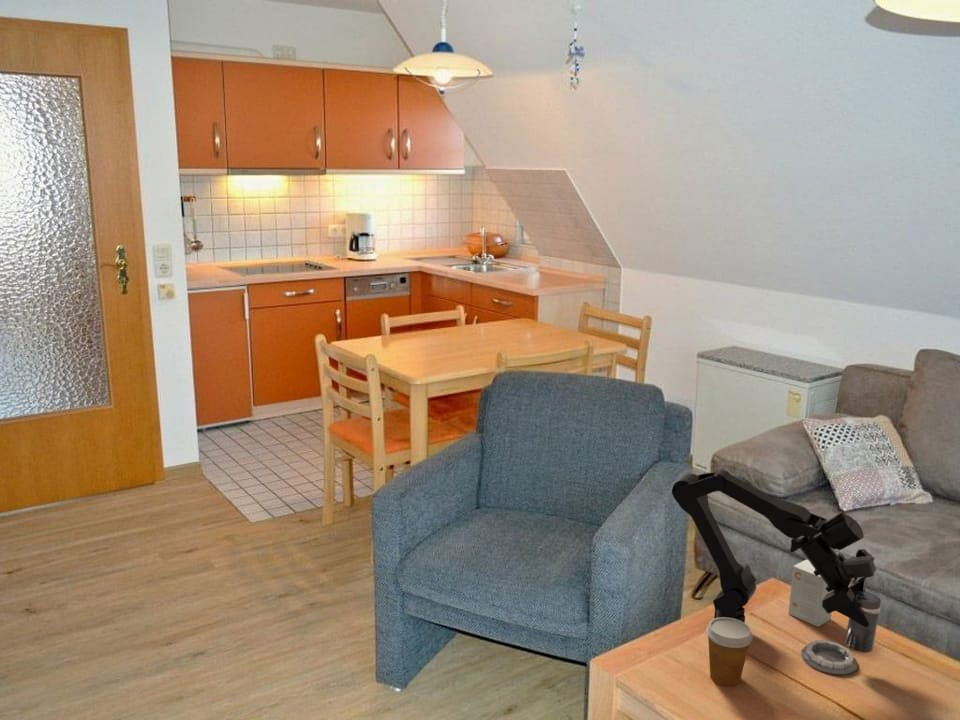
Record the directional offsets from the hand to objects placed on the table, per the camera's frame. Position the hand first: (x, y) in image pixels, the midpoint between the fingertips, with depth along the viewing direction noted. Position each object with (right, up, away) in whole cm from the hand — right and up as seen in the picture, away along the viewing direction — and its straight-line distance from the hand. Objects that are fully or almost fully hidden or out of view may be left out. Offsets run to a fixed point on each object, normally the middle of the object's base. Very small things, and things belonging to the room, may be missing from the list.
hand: (870, 620), depth 182 cm
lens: (-1, -6, +2) cm, 7 cm away
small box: (-3, -7, +25) cm, 26 cm away
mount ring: (-6, -11, +7) cm, 14 cm away
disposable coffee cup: (-32, -12, -1) cm, 34 cm away
